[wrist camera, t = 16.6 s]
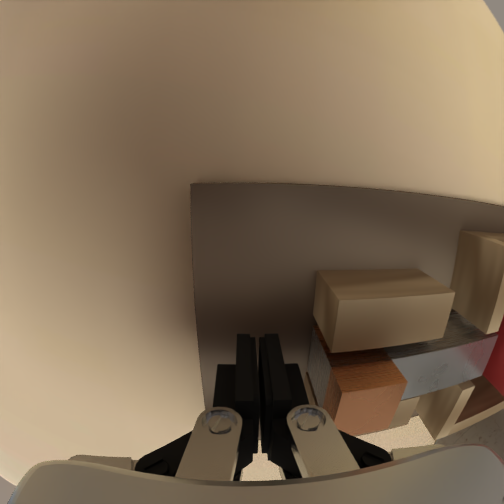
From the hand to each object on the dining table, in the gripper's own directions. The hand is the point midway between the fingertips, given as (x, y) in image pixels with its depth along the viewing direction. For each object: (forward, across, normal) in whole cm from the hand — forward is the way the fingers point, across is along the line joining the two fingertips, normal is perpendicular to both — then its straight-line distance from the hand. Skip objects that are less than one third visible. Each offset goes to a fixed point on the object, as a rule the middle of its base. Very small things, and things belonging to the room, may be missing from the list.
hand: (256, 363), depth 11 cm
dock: (+2, -10, 0) cm, 10 cm away
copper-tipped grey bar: (+1, -7, 0) cm, 7 cm away
